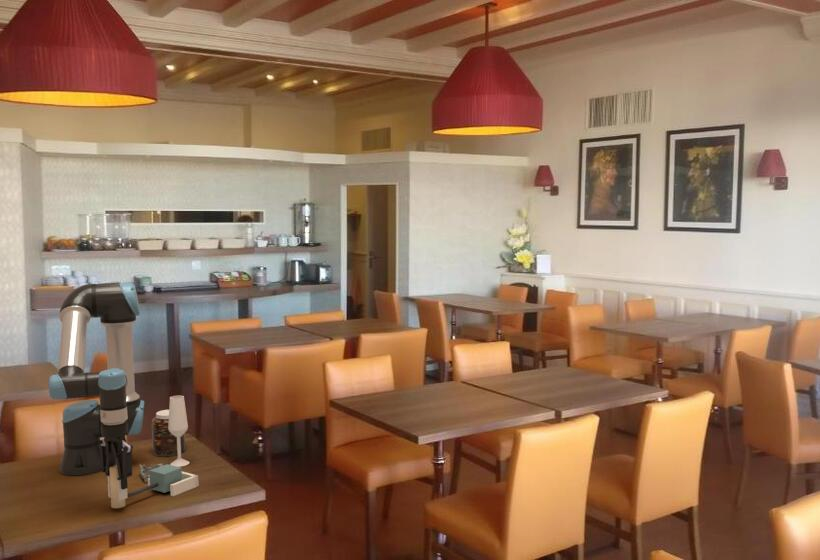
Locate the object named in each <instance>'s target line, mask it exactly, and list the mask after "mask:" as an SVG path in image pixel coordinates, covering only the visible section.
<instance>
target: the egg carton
mask: <svg viewBox="0 0 820 560" xmlns="http://www.w3.org/2000/svg"><path fill="white" fill-rule="evenodd" d="M160 466H163V463H157V464H156V463H155V464H154V465H153V464H150V466H149V467H147V465H146V464H141V463H139V467H140V469H139V475H140V477H141V478H142V479H143V480H144V483H148V478H150V473H149V470H152V469H155V468H158V467H160Z"/></svg>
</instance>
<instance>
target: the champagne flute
mask: <svg viewBox="0 0 820 560" xmlns="http://www.w3.org/2000/svg"><path fill="white" fill-rule="evenodd" d="M168 408H169V409H168V410H169V423H168V430H169V431H170V433H171V434H173V435H174V436H175V437H177V452H178V455H177V458H176V459H175V460H173V461H172V462H170V463H169V465H172V466H176V467H180V468H181V467H185V466H187V465H189V464H190V461H188V460H187V459H184V458H182V453H181V442H180V437H181V436H182V435H183V434H186V432H187V431H188V429H189V425H188V423H189V422H188V418H187V417H188V415H187V411H186V410H187V409H186V403H185V396H184V395H173V396H170V397H169V407H168Z"/></svg>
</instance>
